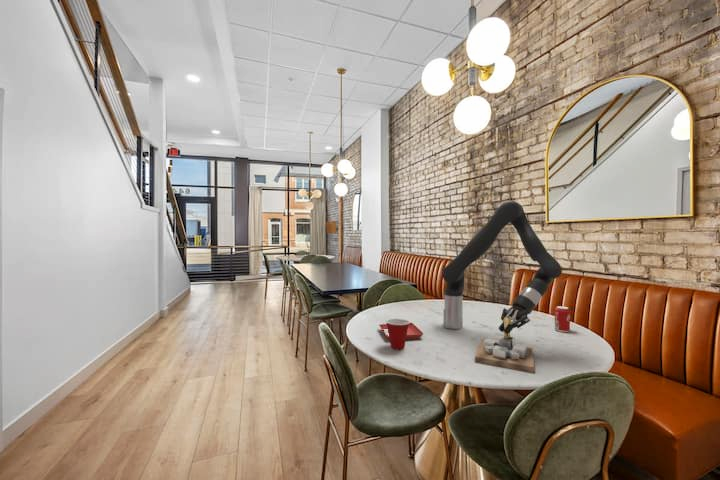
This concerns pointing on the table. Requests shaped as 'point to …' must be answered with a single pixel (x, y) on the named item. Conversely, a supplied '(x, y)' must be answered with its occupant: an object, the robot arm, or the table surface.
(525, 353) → the ring nut
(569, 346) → the table surface
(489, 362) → the walnut base
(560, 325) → the beverage can
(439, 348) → the table surface
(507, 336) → the brass pin
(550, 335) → the table surface
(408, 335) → the plant saucer
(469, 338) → the table surface
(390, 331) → the plastic cup
